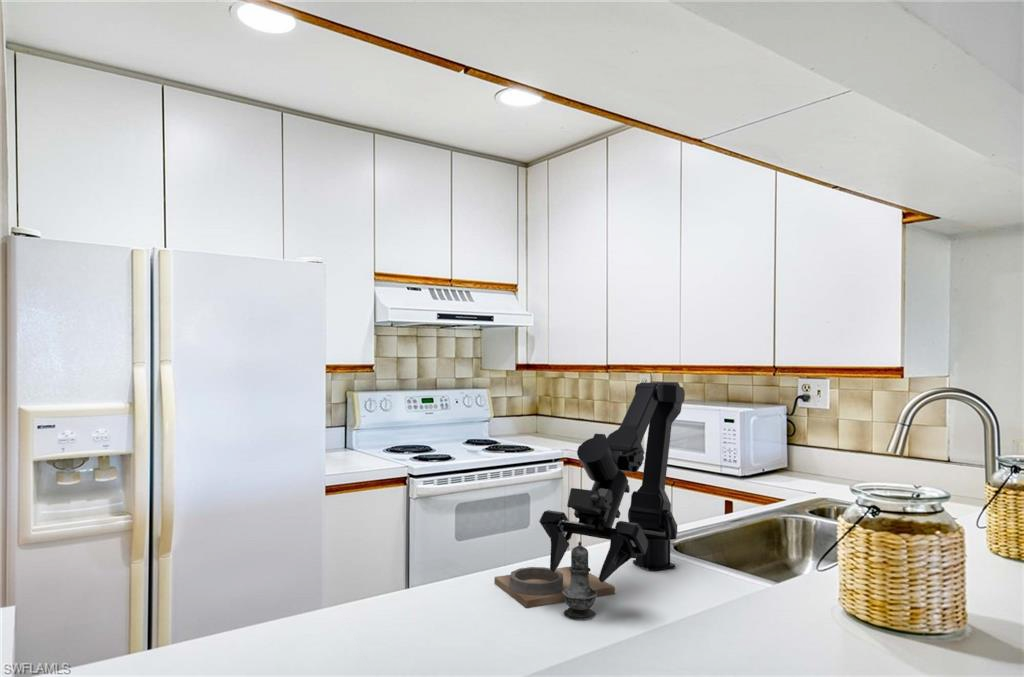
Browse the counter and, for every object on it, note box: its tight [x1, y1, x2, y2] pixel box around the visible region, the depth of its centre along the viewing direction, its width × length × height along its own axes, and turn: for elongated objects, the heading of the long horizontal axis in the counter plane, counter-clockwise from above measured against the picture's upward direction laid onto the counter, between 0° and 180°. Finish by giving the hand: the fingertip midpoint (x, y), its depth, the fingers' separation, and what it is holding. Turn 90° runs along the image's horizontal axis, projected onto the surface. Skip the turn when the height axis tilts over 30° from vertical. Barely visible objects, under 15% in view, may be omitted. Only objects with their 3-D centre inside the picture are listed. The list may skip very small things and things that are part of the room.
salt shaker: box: [562, 541, 598, 621], centre depth 107 cm, size 6×6×12 cm
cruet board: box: [494, 565, 616, 609], centre depth 119 cm, size 18×14×3 cm
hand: (575, 575), depth 106 cm, fingers open, 9 cm apart
